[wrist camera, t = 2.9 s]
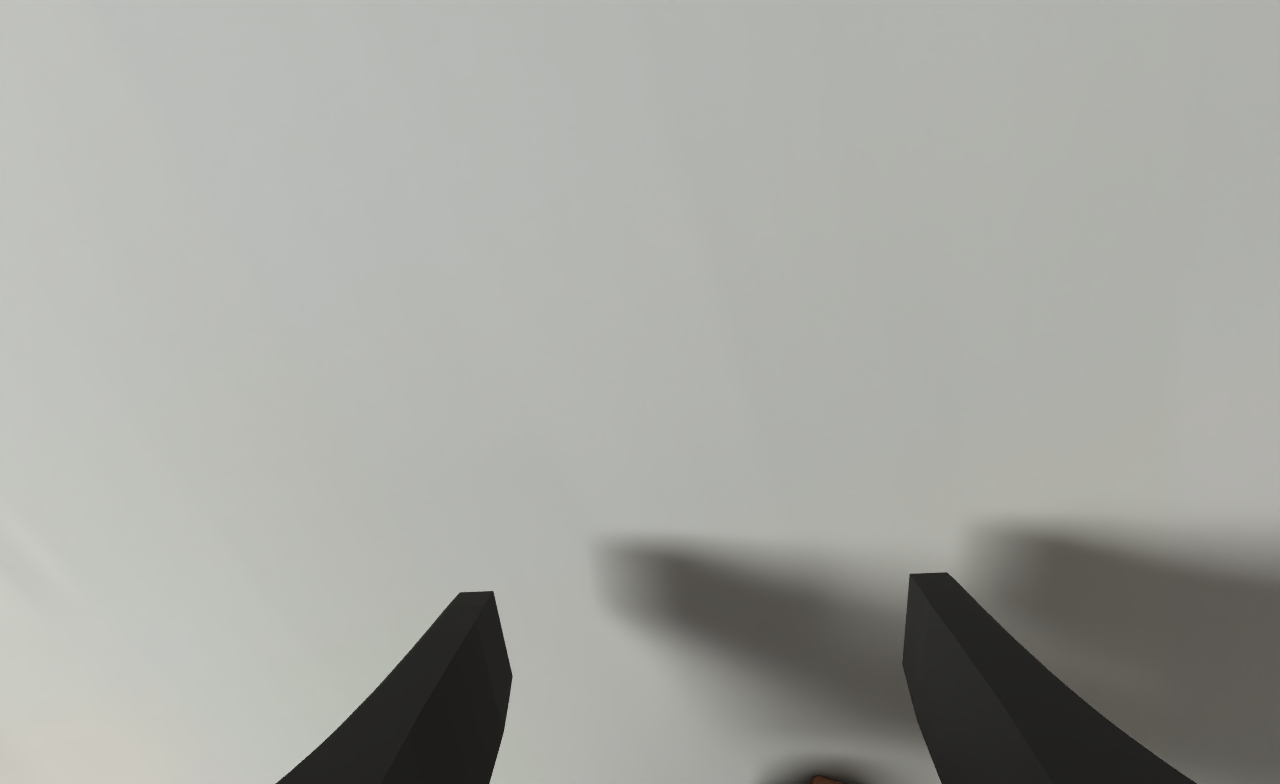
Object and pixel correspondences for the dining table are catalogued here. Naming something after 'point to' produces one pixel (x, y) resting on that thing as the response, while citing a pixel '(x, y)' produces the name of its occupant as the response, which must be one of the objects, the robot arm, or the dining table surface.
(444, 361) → the dining table surface
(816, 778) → the brown piece
